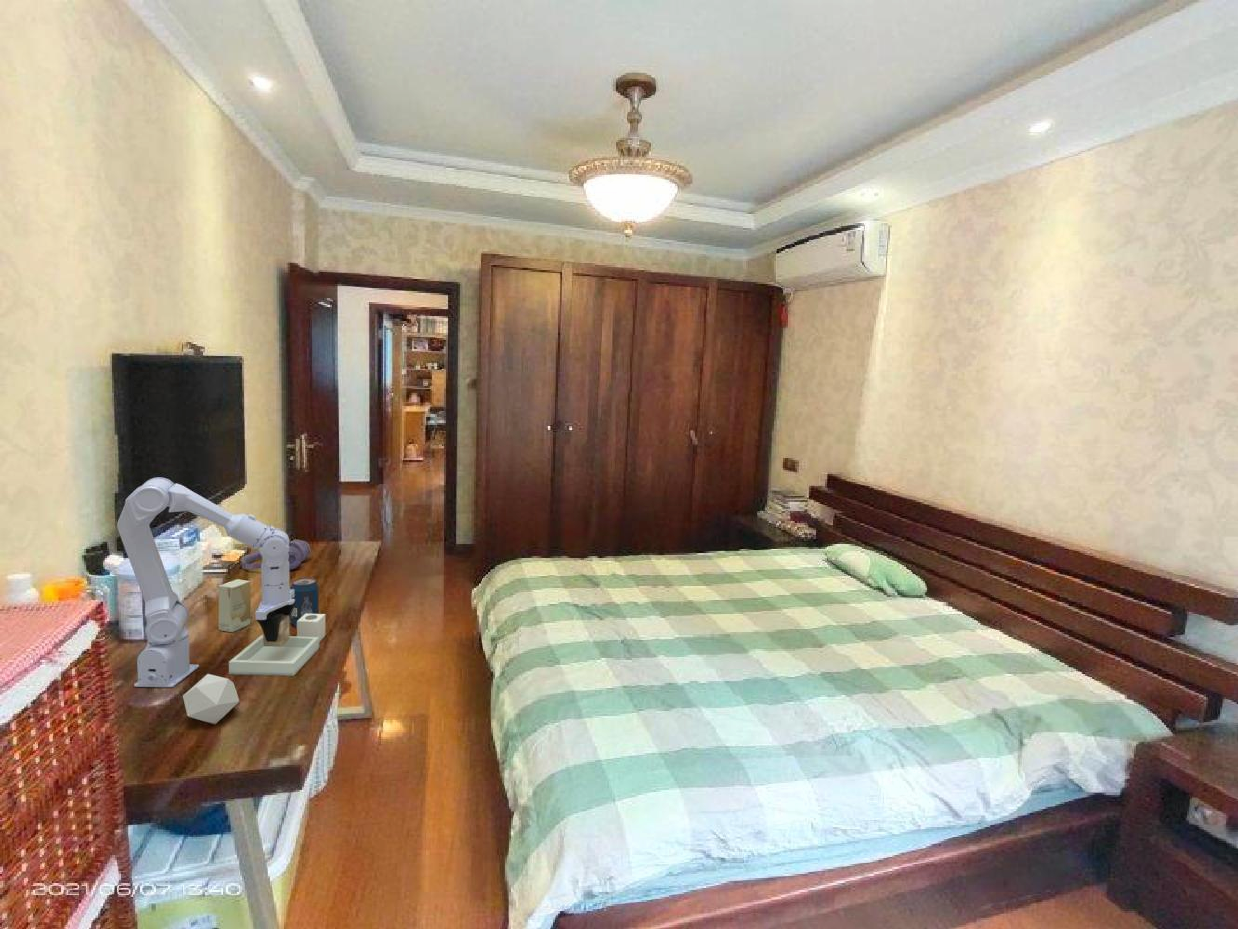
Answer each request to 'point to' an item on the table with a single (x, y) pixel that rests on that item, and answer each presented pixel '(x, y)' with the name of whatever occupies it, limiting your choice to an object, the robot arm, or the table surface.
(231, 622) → the skincare box
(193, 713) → the die
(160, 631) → the robot arm
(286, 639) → the birch block
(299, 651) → the tray
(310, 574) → the table surface
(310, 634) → the oversize block
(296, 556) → the headphones
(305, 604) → the soda can
